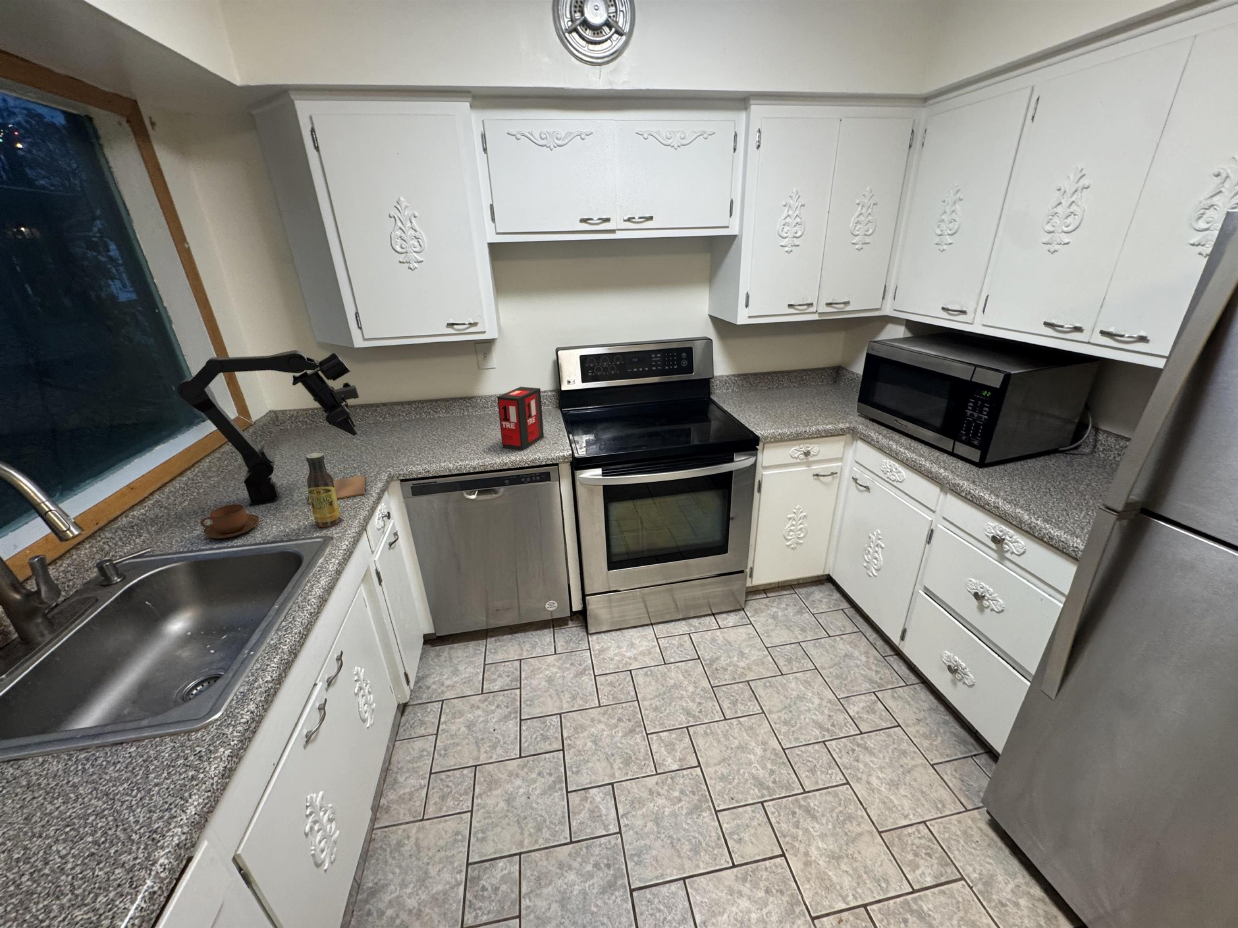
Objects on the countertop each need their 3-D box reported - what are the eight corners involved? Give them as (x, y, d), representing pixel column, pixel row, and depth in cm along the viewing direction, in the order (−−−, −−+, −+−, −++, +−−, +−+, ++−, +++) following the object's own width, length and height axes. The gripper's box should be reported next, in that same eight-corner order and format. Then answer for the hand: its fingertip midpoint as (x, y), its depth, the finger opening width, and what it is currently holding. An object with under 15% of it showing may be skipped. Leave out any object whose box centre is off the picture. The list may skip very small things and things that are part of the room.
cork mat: (308, 504, 149) (307, 502, 148) (313, 485, 161) (312, 483, 161) (364, 494, 154) (364, 493, 154) (364, 477, 167) (364, 475, 167)
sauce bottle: (313, 529, 134) (294, 460, 127) (319, 519, 140) (301, 452, 132) (340, 526, 136) (323, 458, 128) (345, 515, 142) (329, 449, 134)
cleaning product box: (524, 434, 206) (520, 386, 198) (543, 436, 203) (540, 388, 196) (502, 447, 192) (497, 396, 184) (522, 450, 189) (518, 398, 181)
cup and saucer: (211, 547, 126) (203, 526, 124) (201, 531, 134) (193, 511, 132) (266, 530, 134) (259, 509, 132) (254, 515, 142) (247, 496, 140)
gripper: (345, 380, 144) (380, 424, 152) (343, 370, 159) (375, 409, 167) (309, 402, 141) (347, 445, 150) (310, 389, 157) (344, 428, 165)
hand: (354, 430), depth 158 cm, fingers open, 9 cm apart
